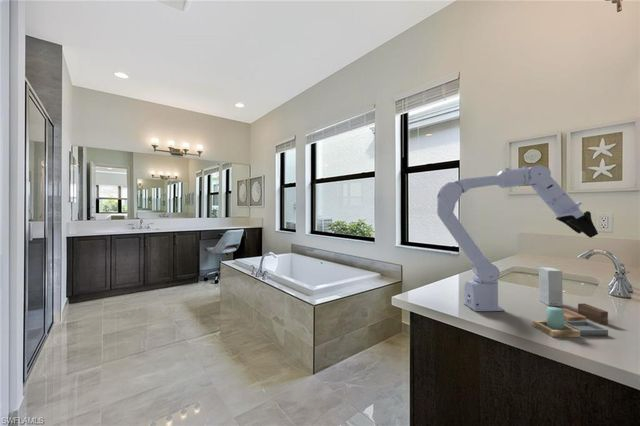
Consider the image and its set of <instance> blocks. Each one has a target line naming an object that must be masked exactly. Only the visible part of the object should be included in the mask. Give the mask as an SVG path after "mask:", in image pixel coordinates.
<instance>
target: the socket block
mask: <svg viewBox="0 0 640 426" xmlns="http://www.w3.org/2000/svg"><path fill="white" fill-rule="evenodd" d="M531 322H532V325H531V326H532V327H534V328H536V329H538V330H539V331H541V332H542V333H545V334H546V335H547V336H549V337H551V338H581V336H580V331H579V330H577V329H575V328H573V327H571V326H568V325H566V324H564V330H553V329H551V328H549V327H547V319H546V320H543V319H542V320H532V321H531Z"/></svg>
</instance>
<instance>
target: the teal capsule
mask: <svg viewBox="0 0 640 426" xmlns="http://www.w3.org/2000/svg"><path fill="white" fill-rule="evenodd" d="M546 320H547V327H549V328H551V329H553V330H564V310H563V309H560V307H557V306H547V307H546Z"/></svg>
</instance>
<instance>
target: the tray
mask: <svg viewBox="0 0 640 426" xmlns="http://www.w3.org/2000/svg"><path fill="white" fill-rule="evenodd" d="M564 324H566V325H568V326H571V327H573V328H575V329H577V330H579V331H580V337H608V336H609V330H608V329H607V328H605V327H602V326H600V325H598V324H596V323H595V324H594V323H593V322H590V321H589V320H586V321H564Z"/></svg>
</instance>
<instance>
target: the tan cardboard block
mask: <svg viewBox="0 0 640 426" xmlns="http://www.w3.org/2000/svg"><path fill="white" fill-rule="evenodd" d="M559 308H560V307H559ZM560 309H563V310H564V321H587V318H586V317H585V316H582V315H580V314H578V312H575V311H573V310H571V309H567V308H565V307H562V308H560Z"/></svg>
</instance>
